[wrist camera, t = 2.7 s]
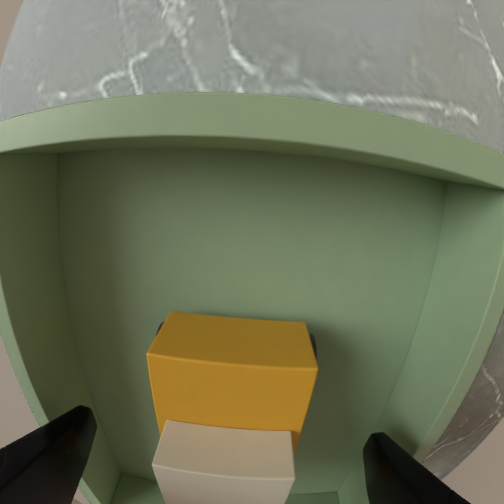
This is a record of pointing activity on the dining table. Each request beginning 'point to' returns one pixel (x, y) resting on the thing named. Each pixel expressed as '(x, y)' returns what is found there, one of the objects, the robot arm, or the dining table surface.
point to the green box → (248, 266)
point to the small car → (229, 406)
